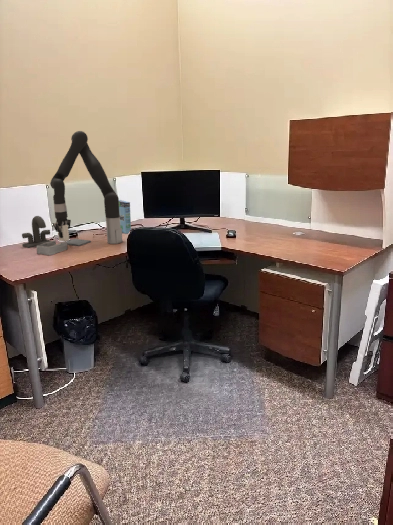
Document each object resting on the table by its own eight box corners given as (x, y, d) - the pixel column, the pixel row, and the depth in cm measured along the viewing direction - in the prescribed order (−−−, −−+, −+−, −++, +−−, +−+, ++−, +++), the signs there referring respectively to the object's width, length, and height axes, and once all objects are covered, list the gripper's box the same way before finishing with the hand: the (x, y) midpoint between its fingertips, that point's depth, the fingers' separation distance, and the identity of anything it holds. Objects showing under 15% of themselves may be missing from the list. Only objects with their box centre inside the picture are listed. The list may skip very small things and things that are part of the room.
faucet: (33, 250, 264) (29, 219, 258) (21, 246, 274) (17, 216, 268) (59, 244, 276) (55, 215, 270) (47, 241, 287) (43, 212, 281)
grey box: (67, 249, 265) (66, 241, 264) (49, 255, 252) (48, 247, 251) (55, 247, 270) (54, 240, 268) (37, 253, 257) (36, 245, 255)
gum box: (113, 229, 319) (110, 199, 313) (118, 228, 322) (116, 199, 316) (125, 233, 305) (124, 202, 298) (131, 232, 308) (130, 202, 301)
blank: (69, 239, 269) (67, 224, 266) (65, 241, 266) (63, 226, 263) (63, 239, 271) (61, 224, 268) (59, 240, 268) (57, 225, 265)
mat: (91, 242, 283) (90, 240, 282) (79, 246, 272) (79, 244, 272) (75, 240, 289) (74, 238, 288) (62, 244, 278) (62, 242, 278)
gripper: (57, 212, 255) (60, 240, 260) (72, 208, 267) (75, 234, 272) (47, 212, 258) (51, 239, 263) (63, 208, 270) (67, 234, 276)
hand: (63, 236), depth 268 cm, fingers closed on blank, 4 cm apart
